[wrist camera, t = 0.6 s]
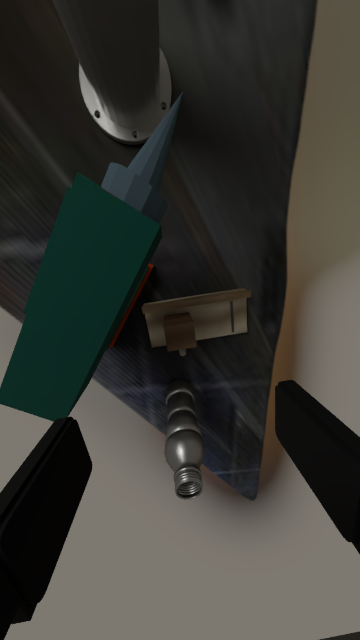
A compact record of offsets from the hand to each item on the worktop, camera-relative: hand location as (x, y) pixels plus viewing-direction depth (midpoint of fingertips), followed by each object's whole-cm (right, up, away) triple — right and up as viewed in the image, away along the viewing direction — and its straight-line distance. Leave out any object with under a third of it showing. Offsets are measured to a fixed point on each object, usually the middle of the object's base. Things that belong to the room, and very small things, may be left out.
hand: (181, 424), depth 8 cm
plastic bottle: (0, -11, +34) cm, 36 cm away
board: (+3, +5, +29) cm, 30 cm away
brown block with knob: (0, +3, +28) cm, 28 cm away
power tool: (-9, +15, +25) cm, 31 cm away
